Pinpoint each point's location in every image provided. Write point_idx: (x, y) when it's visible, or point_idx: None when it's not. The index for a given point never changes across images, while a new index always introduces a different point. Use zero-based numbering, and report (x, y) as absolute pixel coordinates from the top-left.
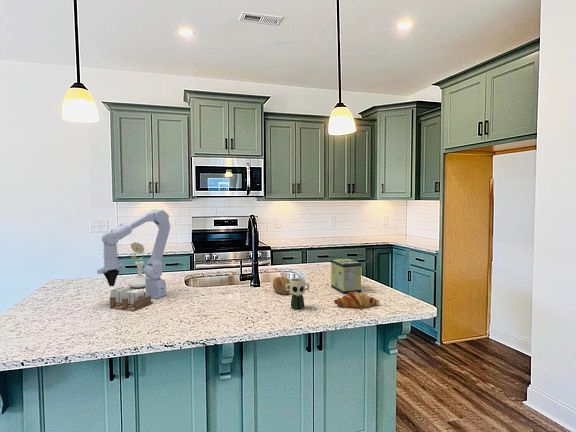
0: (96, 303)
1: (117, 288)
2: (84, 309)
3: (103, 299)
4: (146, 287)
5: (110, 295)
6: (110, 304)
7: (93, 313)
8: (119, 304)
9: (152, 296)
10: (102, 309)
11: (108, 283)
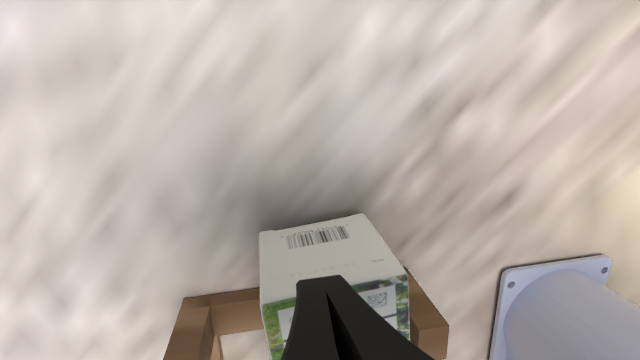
0: (227, 65)
1: (371, 296)
2: (29, 126)
3: (358, 12)
4: (566, 357)
5: (260, 265)
6: (177, 325)
7: (15, 297)
8: (253, 328)
9: (505, 345)
10: (130, 271)
11: (295, 307)
